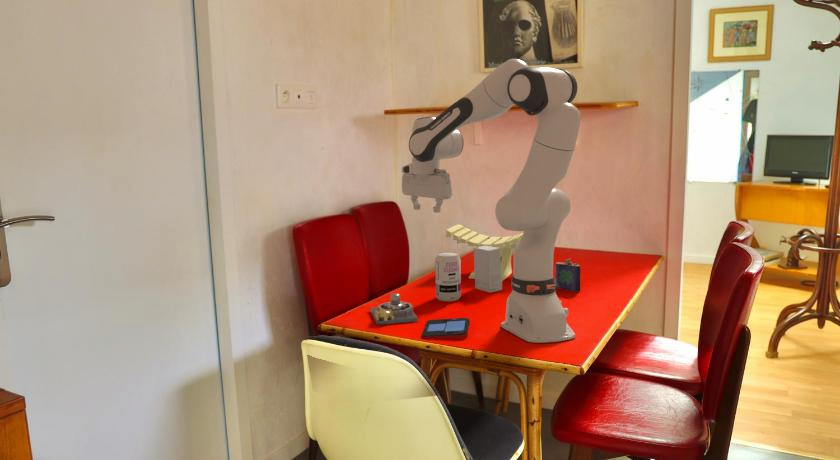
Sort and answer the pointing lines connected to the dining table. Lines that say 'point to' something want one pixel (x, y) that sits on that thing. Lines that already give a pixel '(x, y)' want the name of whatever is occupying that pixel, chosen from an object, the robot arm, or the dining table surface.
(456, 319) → the game console
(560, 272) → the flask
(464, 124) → the robot arm
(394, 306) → the planet gear
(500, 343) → the dining table surface
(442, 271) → the supplement can
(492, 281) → the skincare box
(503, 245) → the slatted curved stool
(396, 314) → the carrier board
